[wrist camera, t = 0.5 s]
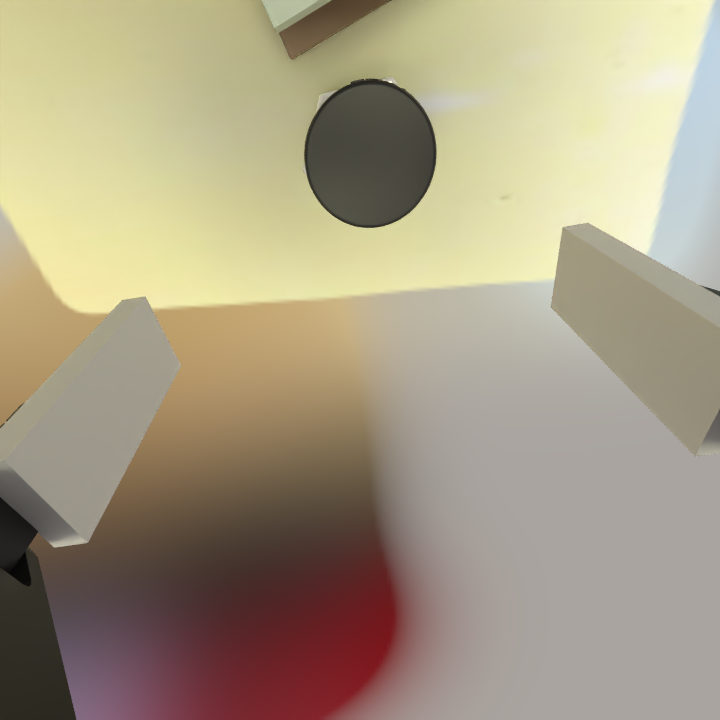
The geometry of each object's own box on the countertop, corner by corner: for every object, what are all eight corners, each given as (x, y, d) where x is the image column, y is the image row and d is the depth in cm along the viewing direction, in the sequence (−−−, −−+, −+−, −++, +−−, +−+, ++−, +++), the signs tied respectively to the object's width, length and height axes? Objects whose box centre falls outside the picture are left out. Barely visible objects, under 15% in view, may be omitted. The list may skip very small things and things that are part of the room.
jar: (429, 148, 35) (467, 171, 25) (360, 213, 37) (368, 257, 27) (362, 51, 31) (374, 32, 21) (289, 132, 33) (270, 149, 23)
